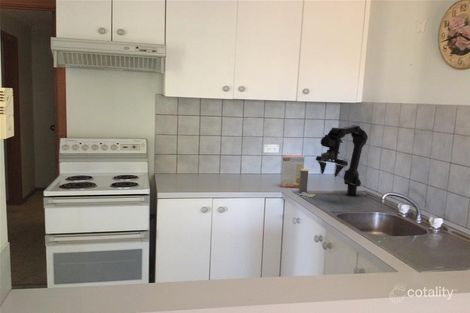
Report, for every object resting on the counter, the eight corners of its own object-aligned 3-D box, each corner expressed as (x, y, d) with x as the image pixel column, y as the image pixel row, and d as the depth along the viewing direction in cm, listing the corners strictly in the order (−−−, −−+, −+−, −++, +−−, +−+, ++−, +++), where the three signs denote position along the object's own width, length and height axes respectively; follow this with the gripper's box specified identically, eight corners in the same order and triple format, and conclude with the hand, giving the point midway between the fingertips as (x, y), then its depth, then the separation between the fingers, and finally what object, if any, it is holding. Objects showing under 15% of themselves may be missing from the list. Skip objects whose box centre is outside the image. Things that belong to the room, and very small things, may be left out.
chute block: (305, 191, 268) (307, 169, 266) (306, 193, 264) (308, 170, 262) (298, 191, 268) (300, 168, 266) (299, 192, 264) (301, 170, 262)
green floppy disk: (303, 193, 262) (303, 192, 262) (315, 195, 258) (315, 194, 258) (299, 195, 256) (299, 194, 256) (311, 197, 252) (311, 196, 252)
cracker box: (301, 186, 284) (303, 155, 281) (302, 188, 278) (304, 156, 275) (280, 185, 283) (282, 154, 280) (281, 187, 277) (283, 155, 274)
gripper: (312, 145, 246) (307, 171, 246) (339, 148, 233) (334, 176, 233) (323, 148, 254) (318, 173, 254) (350, 151, 240) (345, 178, 240)
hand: (328, 175), depth 245 cm, fingers open, 9 cm apart
